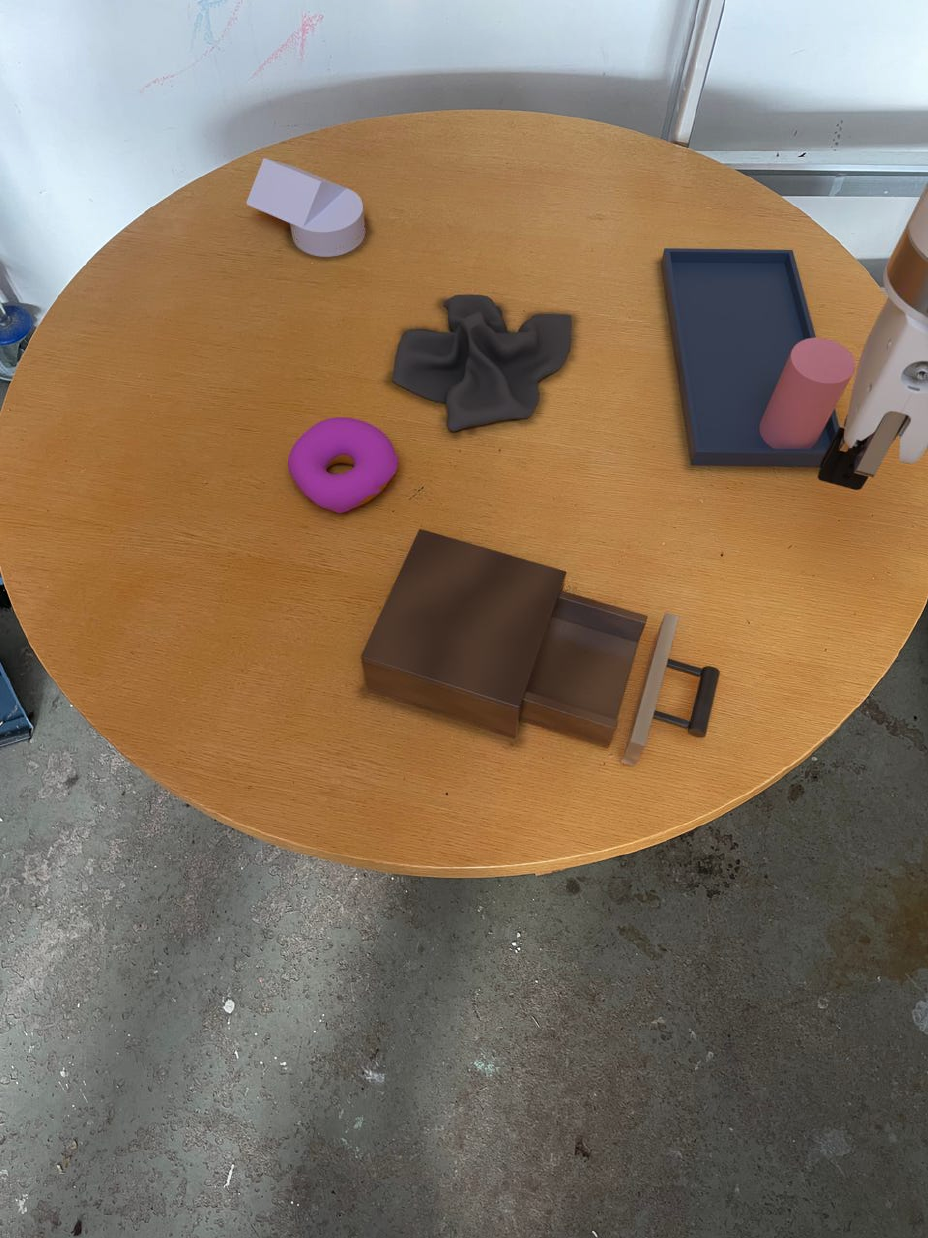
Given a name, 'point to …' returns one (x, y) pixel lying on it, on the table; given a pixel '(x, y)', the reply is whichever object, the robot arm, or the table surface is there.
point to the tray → (736, 349)
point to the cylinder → (806, 393)
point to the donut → (342, 445)
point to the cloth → (482, 361)
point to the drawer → (606, 676)
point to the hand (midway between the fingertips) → (839, 476)
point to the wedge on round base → (310, 208)
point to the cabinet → (462, 631)
